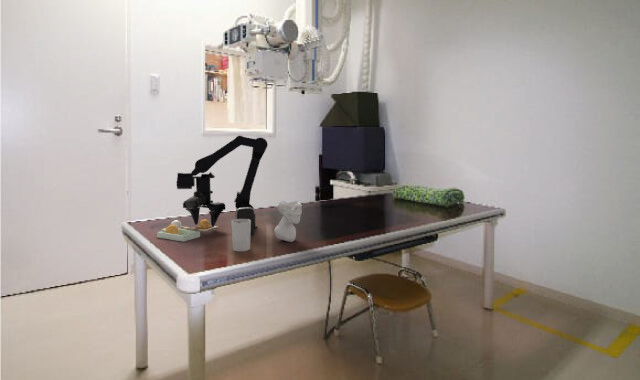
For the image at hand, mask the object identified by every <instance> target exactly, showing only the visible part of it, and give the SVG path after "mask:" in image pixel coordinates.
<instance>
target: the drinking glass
mask: <svg viewBox="0 0 640 380" xmlns="http://www.w3.org/2000/svg"><path fill="white" fill-rule="evenodd" d="M230 223H231V238H232V240H231V241H232V250H233V251H235V252H246V251H249V250H251V236H250V232H251V220H249V219H236V218H235V219H232V220H231V221H230Z"/></svg>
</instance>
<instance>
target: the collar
mask: <svg viewBox="0 0 640 380" xmlns="http://www.w3.org/2000/svg"><path fill="white" fill-rule="evenodd" d="M216 229H219V226H218V225H217V226H216V225H215V226H214V227H212V226H211V225H210V226H209V228H208V229H201V228H200V227H199V225H198V226H197V225H196V226H194V227H190V229H189V230H193V231H200V232H208V231H212V230H216Z"/></svg>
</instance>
